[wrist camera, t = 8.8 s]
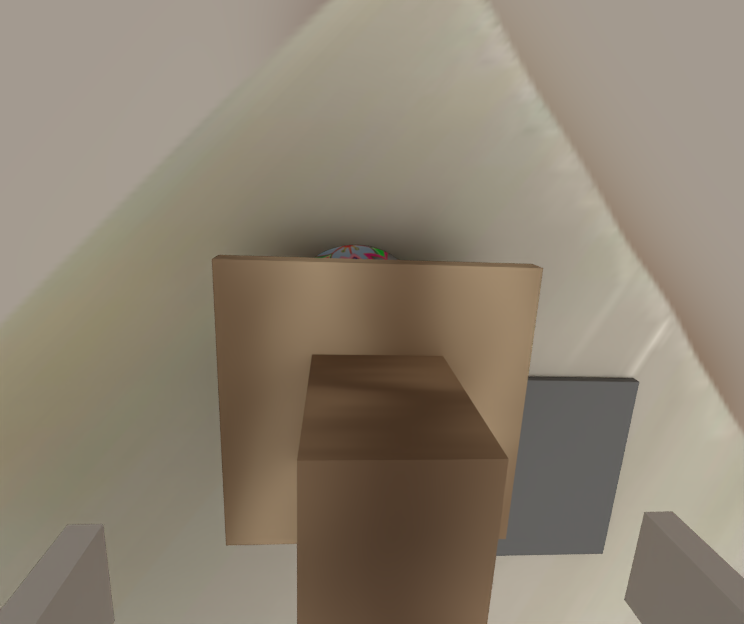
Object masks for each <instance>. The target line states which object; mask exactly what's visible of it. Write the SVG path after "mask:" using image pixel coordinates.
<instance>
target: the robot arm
mask: <svg viewBox="0 0 744 624" xmlns="http://www.w3.org/2000/svg"><path fill="white" fill-rule="evenodd" d="M624 600H625V601H626V602H627V604H628V605H629V607H630V608H631V609H632V611H633V612H634V614H635V615H636V616H637V618H638V619H639V620H640V622H641V623H642V624H744V578H743V577H742V576H741V575H740V574H739V573H737V572H736V571H735V570H734V569H733V568H732V567H731V566H730V565H729V564H728V563H727V562H726V561H725V560H724V559H723V558H721V557H720V556H719V555H718V554H717V553H716V552H715V551H714V550H713V549H712V548H711V547H710V546H709V545H708V544H706V543H705V542H704V541H703V540H702V539H701V538H700V537H699V536H698V535H697V534H696V533H695V532H694V531H693V530H692V529H690V528H689V527H688V526H687V525H686V524H685V523H684V522H683V521H682V520H681V519H680V518H679V517H678V516H677V515H676V514H674V513H673V512H644V516H643V521H642V525H641V529H640V534H639V538H638V542H637V547H636V551H635V555H634V560H633V564H632V568H631V573H630V577H629V581H628V586H627V590H626V595H625V599H624ZM114 621H115V620H114V612H113V604H112V595H111V587H110V578H109V570H108V561H107V553H106V544H105V536H104V527H103V524H74V525H67V526H66V527H65V528H64V530H63V531H62V532H61V533H60V535H59V536H58V537H57V538H56V540H55V541H54V542H53V544H52V545H51V546H50V547H49V549H48V550H47V551H46V553H45V554H44V555H43V556H42V558H41V559H40V560H39V561H38V563H37V564H36V565H35V567H34V568H33V569H32V570H31V572H30V573H29V574H28V576H27V577H26V578H25V579H24V581H23V582H22V583H21V585H20V586H19V587H18V588H17V590H16V591H15V592H14V593H13V595H12V596H11V597H10V599H9V600H8V601H7V602H6V604H5V605H4V606H3V608H2V609H1V610H0V624H113V623H114Z"/></svg>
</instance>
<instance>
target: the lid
mask: <svg viewBox="0 0 744 624" xmlns="http://www.w3.org/2000/svg"><path fill="white" fill-rule="evenodd" d="M212 270H213V290H214V311H215V331H216V351H217V371H218V391H219V412H220V432H221V452H222V472H223V492H224V513H225V533H226V545H264V544H297V624H487V620H488V613H489V605H490V598H491V590H492V583H493V575H494V568H495V560H496V552H497V545H498V539H506V534H507V527H508V520H509V512H510V505H511V498H512V490H513V483H514V476H515V469H516V461H517V454H518V447H519V439H520V432H521V425H522V418H523V410H524V403H525V396H526V389H527V381H528V374H529V367H530V359H531V352H532V345H533V338H534V330H535V323H536V316H537V308H538V301H539V294H540V287H541V279H542V272H543V268H541V267H538V266H536V265H533V264H515V263H480V262H446V261H411V260H377V259H342V258H308V257H273V256H238V255H218V256H216V257H214V258H213V259H212Z"/></svg>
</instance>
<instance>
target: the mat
mask: <svg viewBox="0 0 744 624" xmlns="http://www.w3.org/2000/svg"><path fill="white" fill-rule="evenodd" d="M638 385H639V382H638V381H637V380H635V379H634V378H570V377H528V381H527V389H526V396H525V403H524V410H523V418H522V425H521V432H520V439H519V447H518V454H517V461H516V469H515V476H514V483H513V490H512V498H511V505H510V512H509V520H508V527H507V534H506V539H498V545H497V552H496V556H506V555H559V554H603V550H604V545H605V540H606V536H607V531H608V526H609V522H610V517H611V512H612V507H613V503H614V498H615V493H616V489H617V484H618V479H619V474H620V470H621V465H622V460H623V456H624V451H625V446H626V442H627V437H628V432H629V427H630V423H631V418H632V413H633V409H634V404H635V399H636V394H637V390H638Z"/></svg>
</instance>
